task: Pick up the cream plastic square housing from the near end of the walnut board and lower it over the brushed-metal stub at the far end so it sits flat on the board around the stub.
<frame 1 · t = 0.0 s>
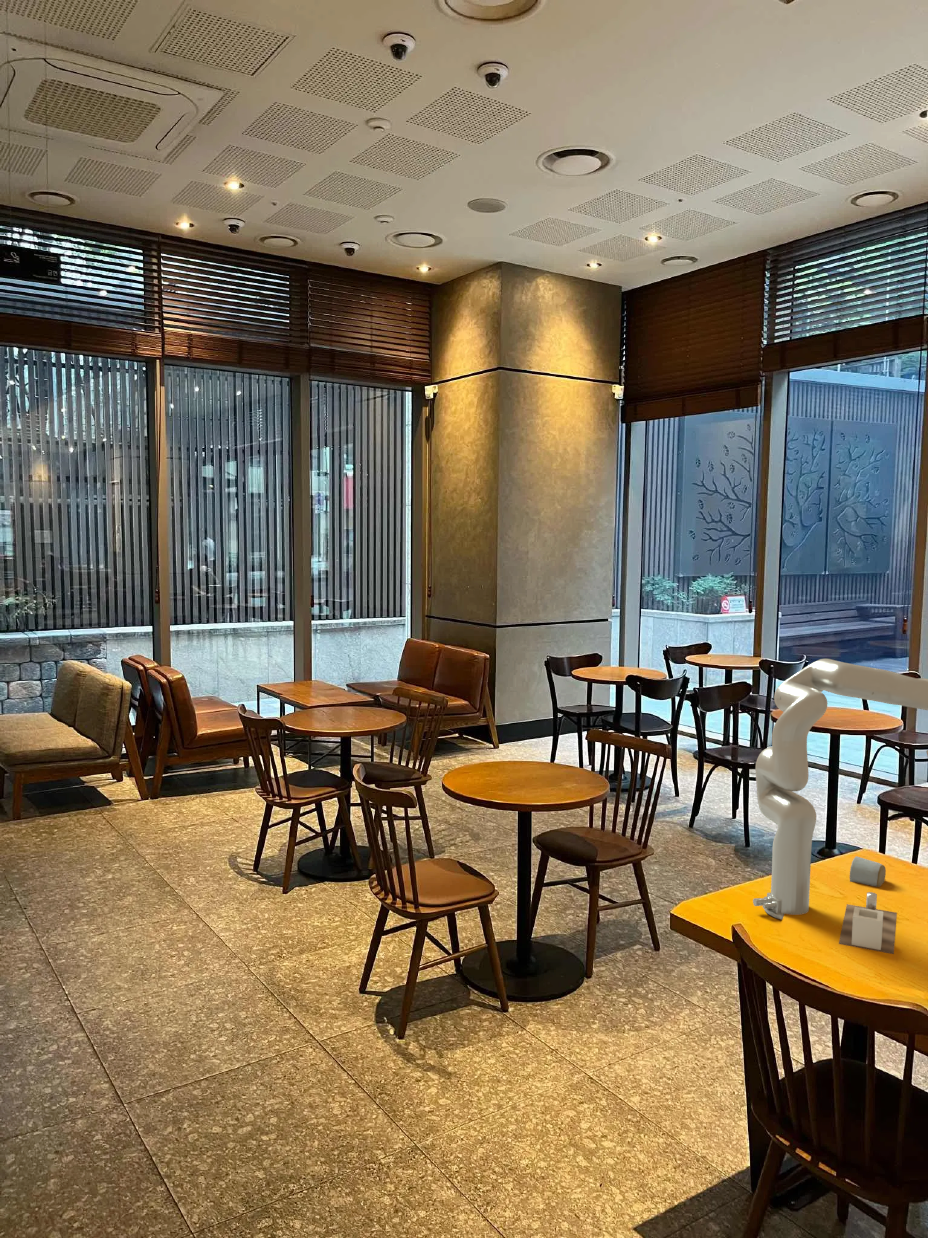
metal stub: (870, 912, 242), resting on walnut board
walnut board: (868, 933, 233), on the table
cream housing: (866, 942, 225), point 1 cm above the table, touching walnut board
ceramic mug: (867, 885, 265), on the table
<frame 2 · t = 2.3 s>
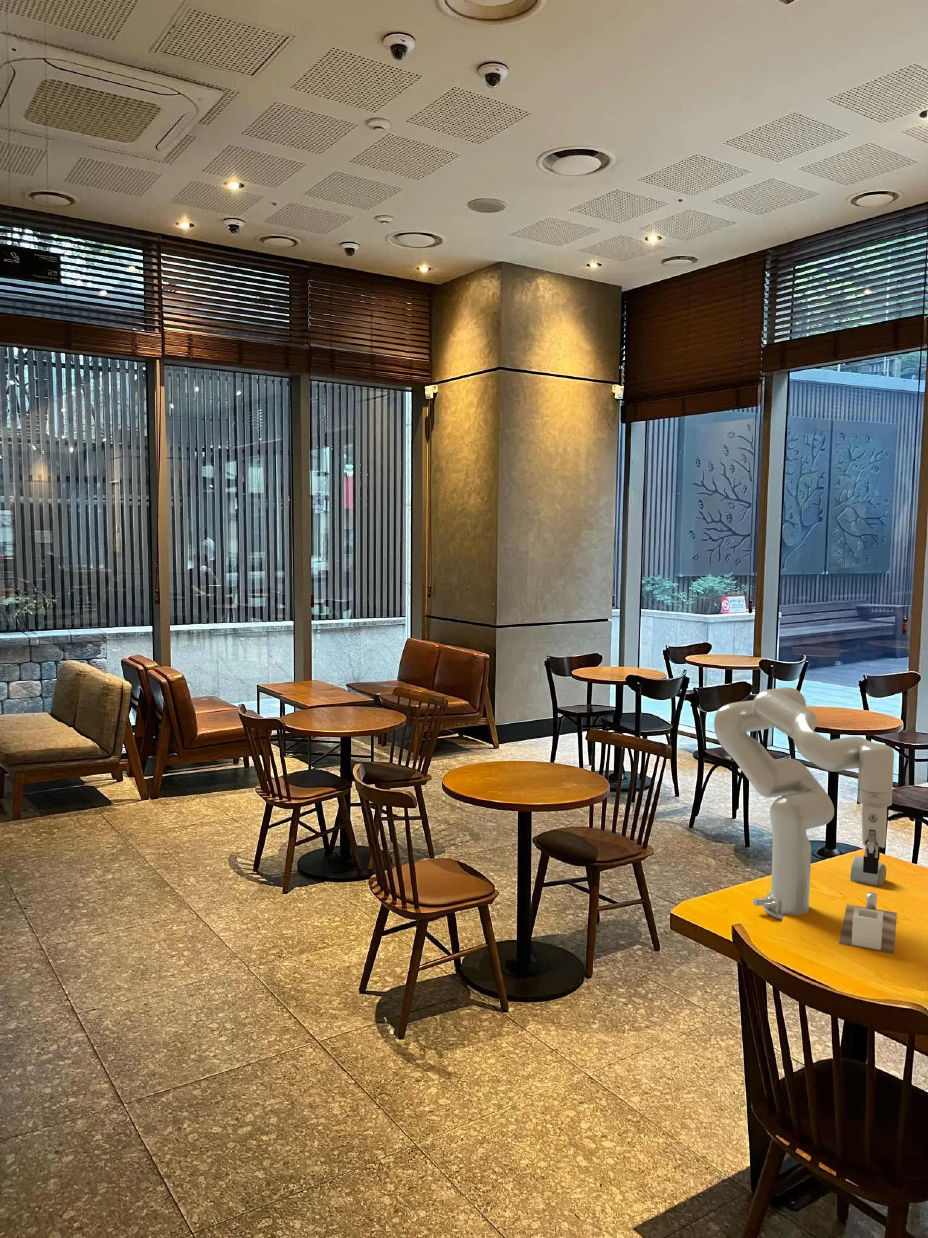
hand: (871, 866, 223), 20 cm above the table, tool pointing down, fingers open, 9 cm apart
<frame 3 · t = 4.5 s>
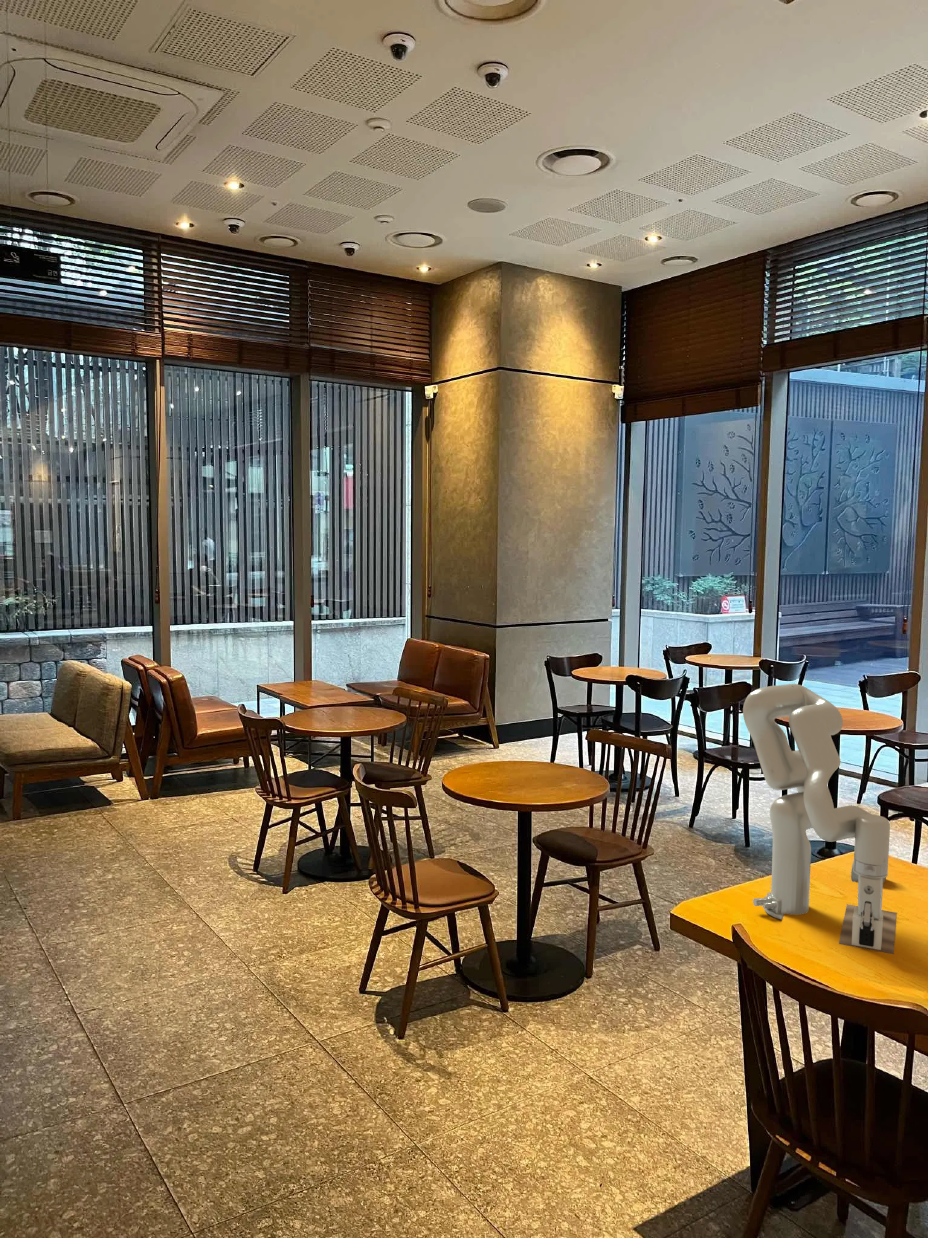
hand: (867, 938, 224), 2 cm above the table, tool pointing down, fingers closed on cream housing, 6 cm apart
cream housing: (866, 942, 225), point 1 cm above the table, touching gripper, walnut board
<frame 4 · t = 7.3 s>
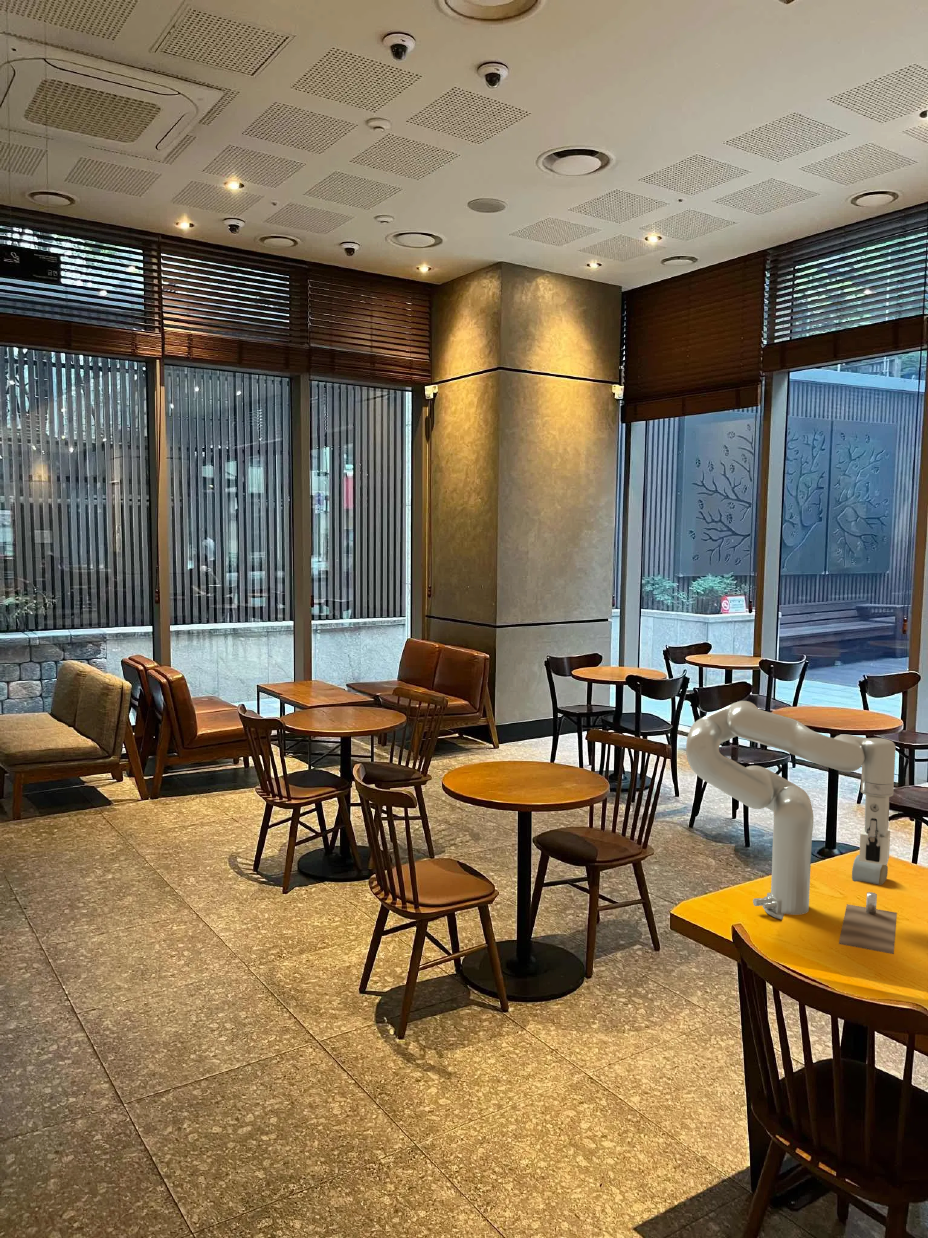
hand: (873, 855, 238), 18 cm above the table, tool pointing down, fingers closed on cream housing, 6 cm apart
cream housing: (874, 859, 238), point 17 cm above the table, touching gripper
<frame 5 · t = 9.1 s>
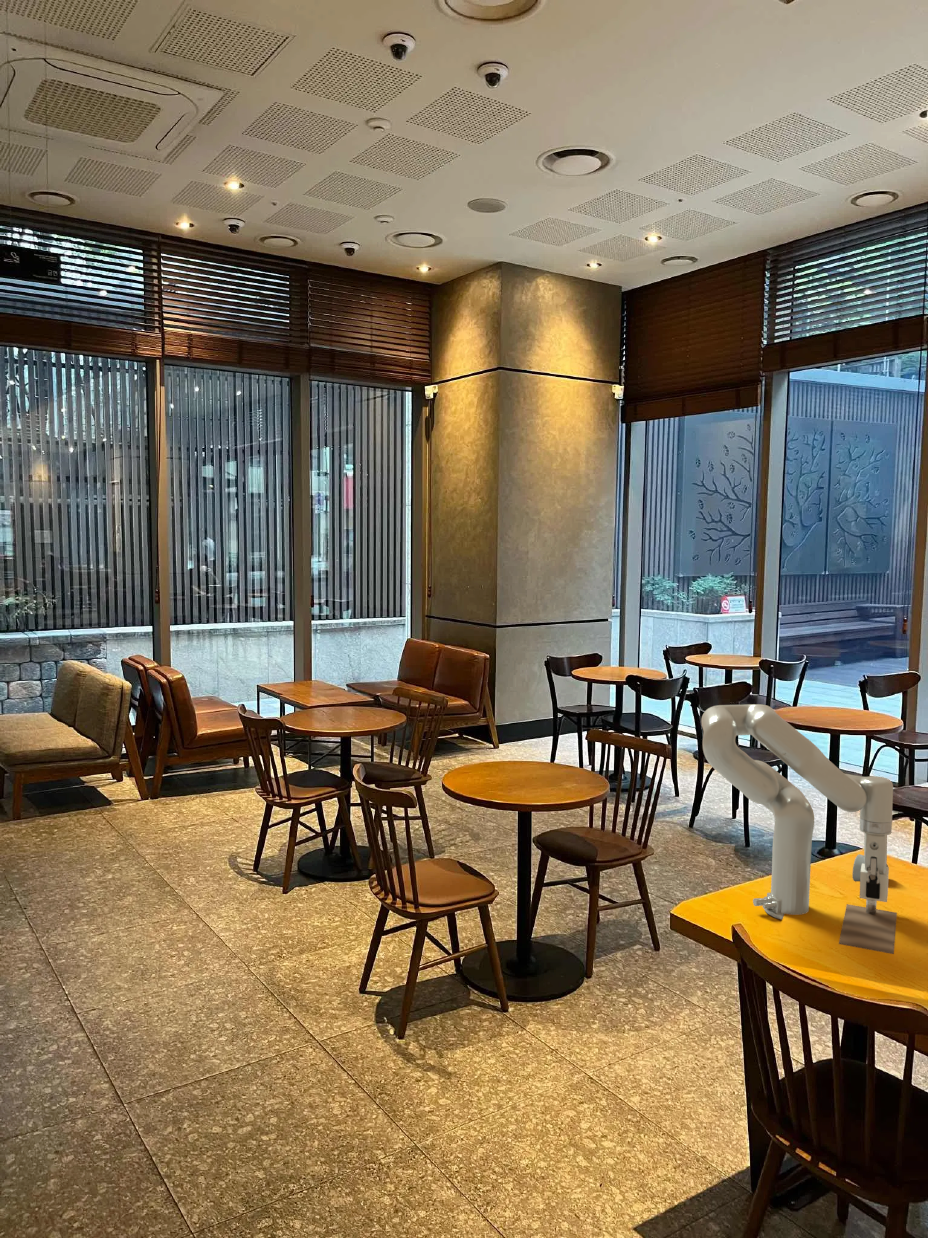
hand: (873, 892, 241), 7 cm above the table, tool pointing down, fingers closed on cream housing, 6 cm apart
cream housing: (873, 895, 241), point 6 cm above the table, touching gripper
when the fingers open (3 cm above the table, at t = 10.3 s): cream housing stays where it is, resting on walnut board.
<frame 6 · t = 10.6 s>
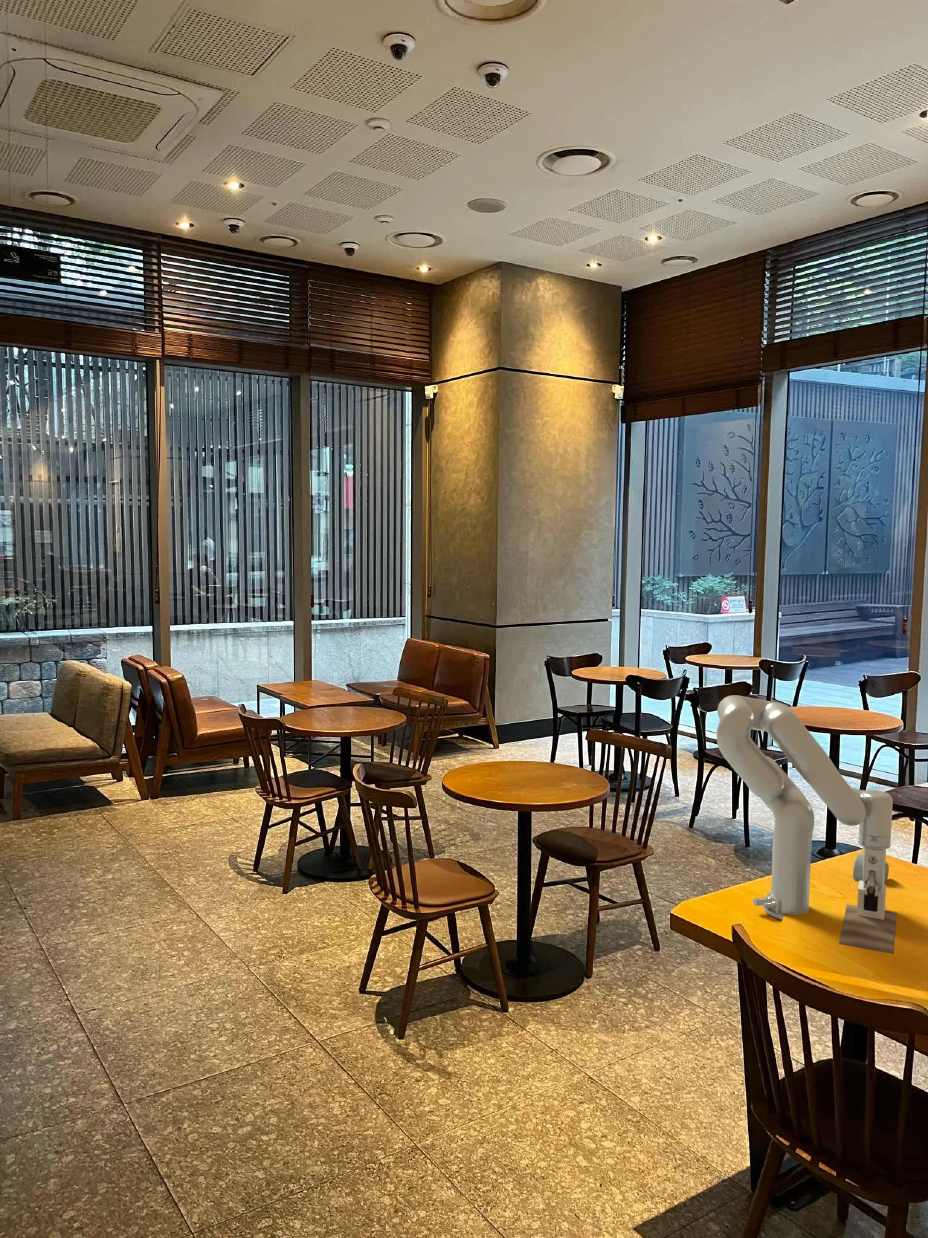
hand: (871, 903, 241), 4 cm above the table, tool pointing down, fingers open, 9 cm apart
cream housing: (871, 912, 242), point 1 cm above the table, touching walnut board
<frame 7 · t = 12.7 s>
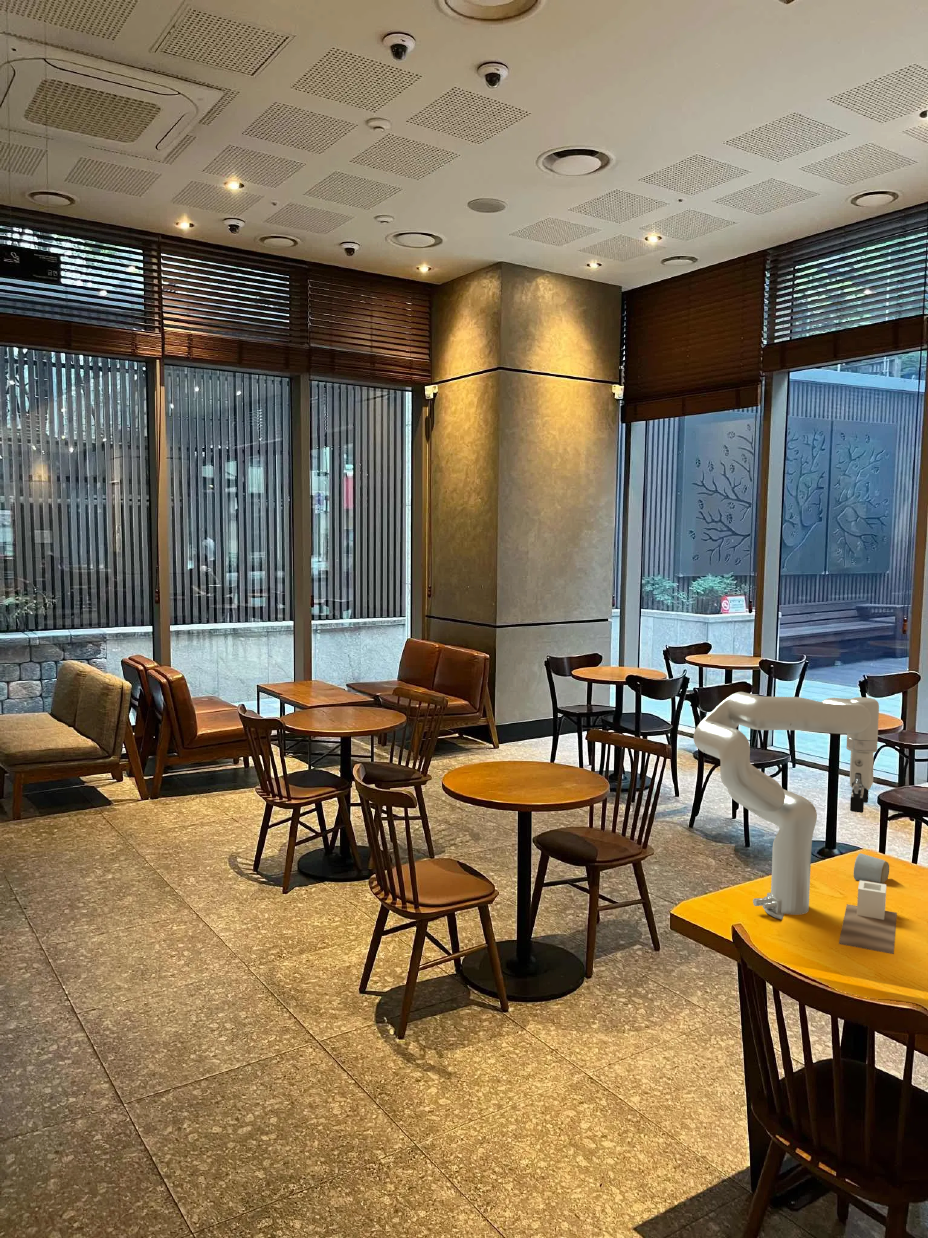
hand: (859, 807, 250), 26 cm above the table, tool pointing down, fingers open, 9 cm apart
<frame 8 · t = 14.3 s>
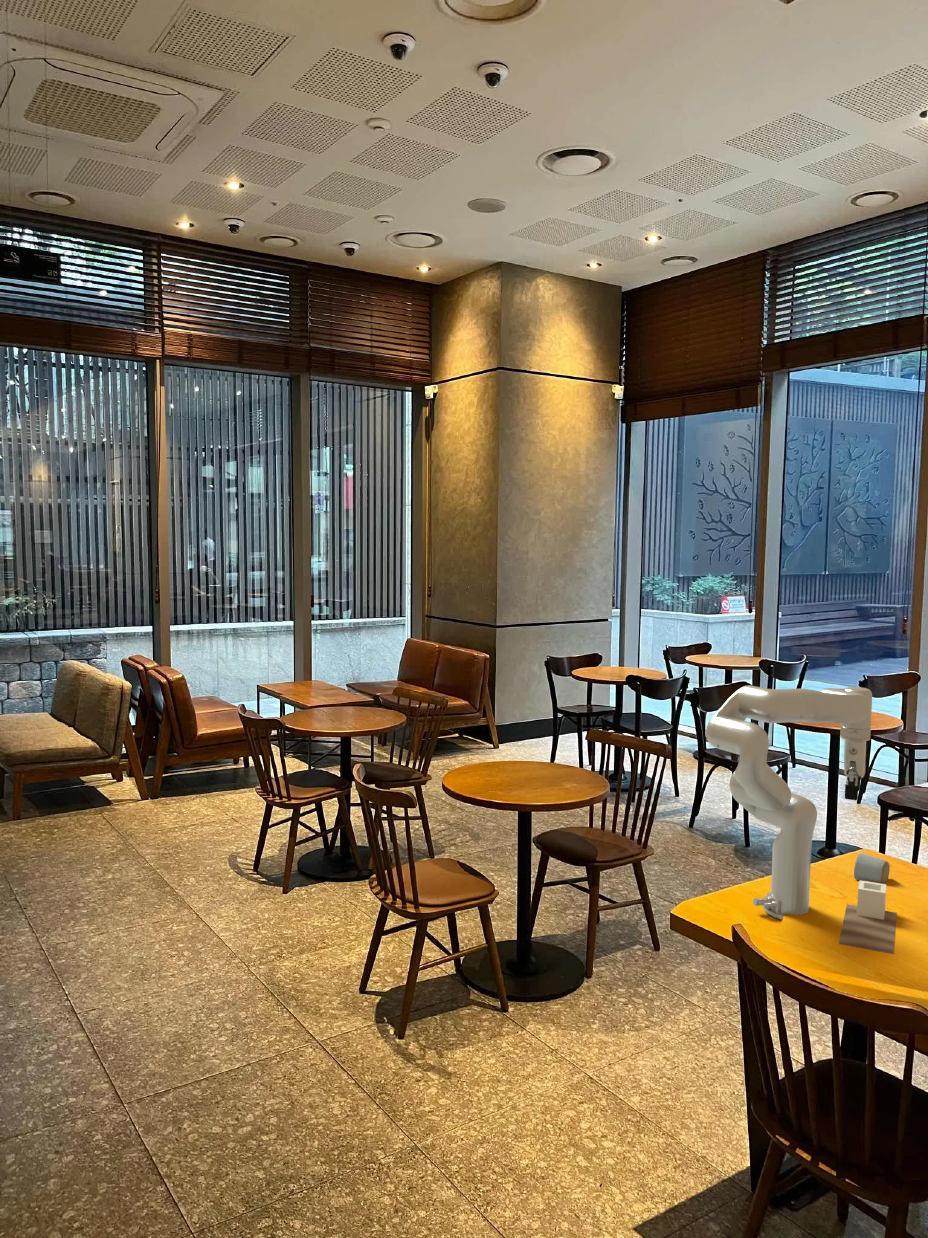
hand: (852, 794, 254), 28 cm above the table, tool pointing down, fingers open, 9 cm apart
at the end: cream housing 0.0 cm off-centre on the metal stub, point 0.0 cm above the metal stub's base; cream housing tilted 0°; the gripper is holding nothing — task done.
